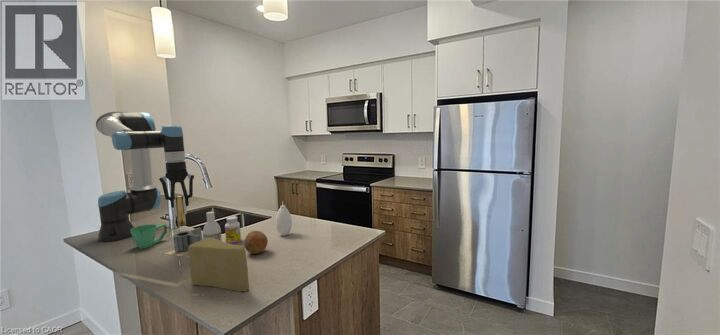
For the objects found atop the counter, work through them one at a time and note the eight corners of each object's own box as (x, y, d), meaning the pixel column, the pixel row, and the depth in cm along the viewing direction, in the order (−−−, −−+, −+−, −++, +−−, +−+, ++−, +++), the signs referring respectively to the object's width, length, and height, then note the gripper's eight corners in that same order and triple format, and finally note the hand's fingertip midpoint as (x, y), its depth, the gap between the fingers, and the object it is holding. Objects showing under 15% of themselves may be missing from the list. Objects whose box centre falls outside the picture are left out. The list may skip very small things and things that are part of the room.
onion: (272, 249, 137) (271, 227, 136) (259, 258, 128) (258, 235, 127) (254, 247, 140) (252, 226, 139) (240, 256, 130) (238, 234, 129)
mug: (138, 254, 136) (136, 232, 134) (129, 250, 141) (126, 229, 140) (173, 243, 148) (171, 223, 147) (163, 239, 153) (160, 220, 152)
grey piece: (171, 251, 135) (169, 235, 134) (195, 240, 147) (194, 226, 146) (193, 254, 131) (191, 238, 130) (216, 243, 143) (215, 229, 142)
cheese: (258, 284, 106) (255, 243, 104) (236, 299, 97) (232, 254, 96) (214, 273, 116) (210, 235, 114) (190, 285, 107) (186, 244, 105)
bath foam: (223, 259, 128) (219, 213, 125) (205, 263, 125) (200, 215, 122) (222, 253, 134) (219, 209, 131) (205, 256, 131) (201, 211, 128)
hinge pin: (178, 224, 136) (175, 196, 135) (186, 223, 138) (183, 195, 136) (178, 226, 134) (174, 197, 132) (185, 225, 135) (182, 196, 133)
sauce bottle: (295, 233, 157) (293, 199, 155) (284, 238, 150) (282, 203, 148) (284, 231, 161) (282, 198, 159) (273, 236, 155) (271, 201, 152)
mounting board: (162, 255, 133) (162, 253, 133) (193, 242, 148) (193, 240, 148) (188, 259, 128) (188, 257, 128) (217, 245, 143) (217, 243, 143)
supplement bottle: (223, 245, 143) (220, 219, 142) (232, 240, 150) (230, 215, 148) (234, 246, 141) (232, 220, 140) (244, 241, 148) (242, 216, 146)
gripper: (152, 163, 126) (158, 218, 128) (195, 160, 132) (200, 213, 135) (155, 162, 132) (161, 214, 135) (196, 159, 139) (201, 209, 142)
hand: (181, 213), depth 135 cm, fingers closed on hinge pin, 3 cm apart
